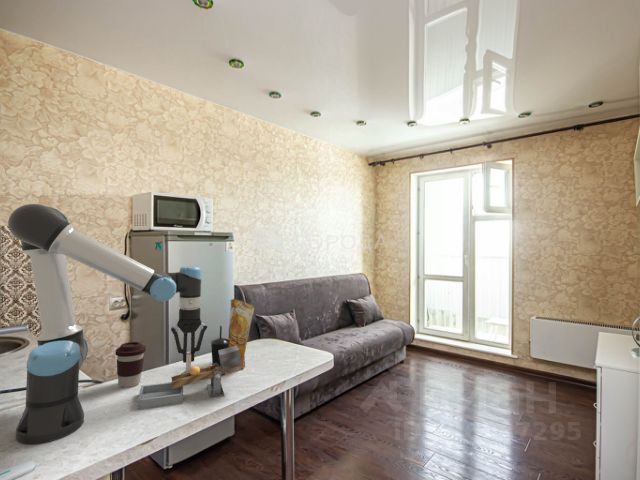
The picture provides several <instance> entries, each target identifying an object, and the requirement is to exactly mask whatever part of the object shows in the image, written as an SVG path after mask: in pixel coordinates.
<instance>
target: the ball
mask: <svg viewBox="0 0 640 480" xmlns="http://www.w3.org/2000/svg"><path fill="white" fill-rule="evenodd" d="M200 369H201V368H200V367H199V366H197V365H195V366H191V370H190V374H191V376H193V375H197V374H199V373H200Z"/></svg>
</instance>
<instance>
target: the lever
mask: <svg viewBox="0 0 640 480" xmlns="http://www.w3.org/2000/svg"><path fill="white" fill-rule="evenodd" d="M218 353H219V359H220V366H219V367H215V365H212V364H211V365H208V366H205V367H201V368H199V369H200V373H199V374H197V375H193V376H191V374H190V372H189V370H188V372H186V369H185V370H182V371H180V374H177V375H173V376H171V384H172V389H175V388H178V387H181V386H183V387H185V386H188V385H191V384H194V383H195V384H196V383H197V382H201V381H204V380H207V379H211V377H214V371H218V370H221V374H225V375H226V374H228V373H231V372H234V371H237V370H242V369H241V368H242V365H241V358H240V352H239V349H238V347H237V345H236V346H233V347H229V348H225V349H222V350H218Z"/></svg>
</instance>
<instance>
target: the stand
mask: <svg viewBox="0 0 640 480" xmlns="http://www.w3.org/2000/svg"><path fill="white" fill-rule="evenodd" d="M211 365H215V367H219V363H212V362H211ZM206 388H207V391H208V392H207V393H208V396H209V399H211V398H212V399H213V398H217V397H225V392H224V390H223V389H224V387H223V384H222V376H221V370H218V371H214V377H211V378H210V383H207V384H206Z"/></svg>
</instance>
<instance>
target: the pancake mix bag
mask: <svg viewBox="0 0 640 480" xmlns="http://www.w3.org/2000/svg"><path fill="white" fill-rule="evenodd" d="M255 309H256V308H255V306H254V305H253V304H252V303H248V302H245V301H243V300H239V299H235V298H232V299H230V308H229V311H230V312H229V322H228V338H227V339H228V340H230V343H229V347H233V346H236V345H237V347H238V349H239V352H240V358H241V365H242V368H241V369H240V370H244V369H245V368H246V361H245V358H246V356H245V355H246V349H247V345H248V344H247V343H248V338H249V335H250V332H251V331H250V330H251V326H252V321H253V317H254V314H255ZM229 347H228V348H229Z"/></svg>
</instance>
